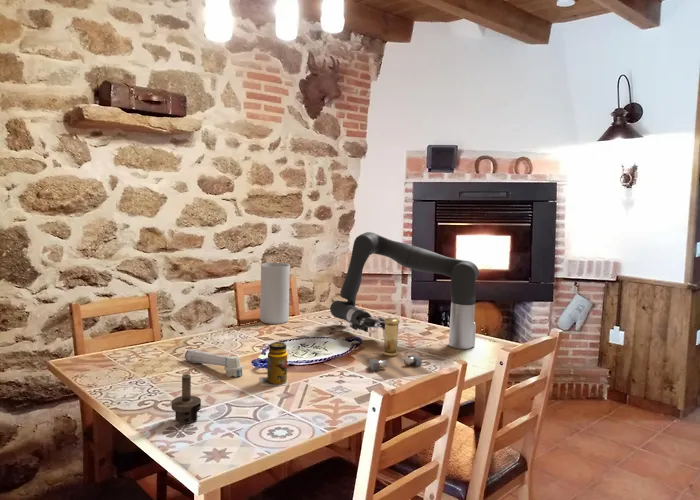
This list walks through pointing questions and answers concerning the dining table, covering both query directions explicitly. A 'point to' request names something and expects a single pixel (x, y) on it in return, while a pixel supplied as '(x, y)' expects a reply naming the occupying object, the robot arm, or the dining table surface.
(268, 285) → the cylinder vase
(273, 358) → the condiment
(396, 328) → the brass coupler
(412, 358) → the shaft
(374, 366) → the shaft
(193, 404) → the industrial component
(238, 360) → the grey lever handle
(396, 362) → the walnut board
